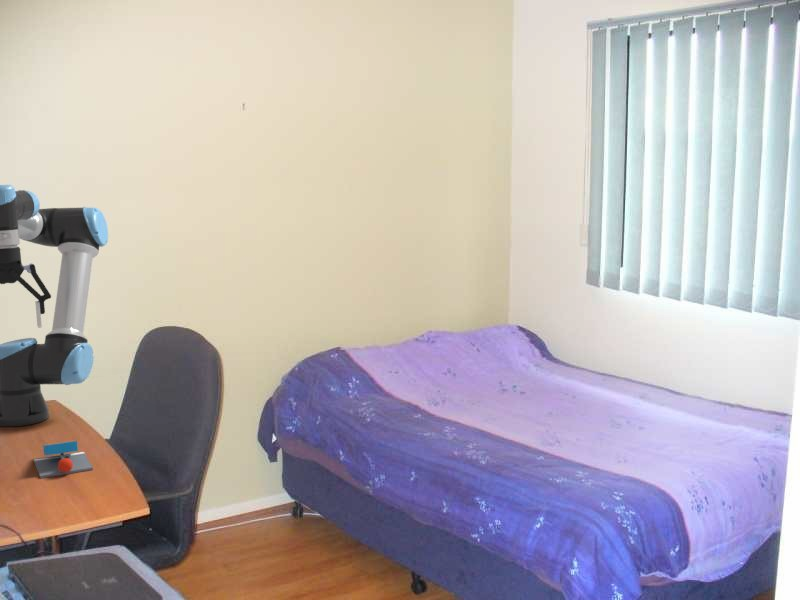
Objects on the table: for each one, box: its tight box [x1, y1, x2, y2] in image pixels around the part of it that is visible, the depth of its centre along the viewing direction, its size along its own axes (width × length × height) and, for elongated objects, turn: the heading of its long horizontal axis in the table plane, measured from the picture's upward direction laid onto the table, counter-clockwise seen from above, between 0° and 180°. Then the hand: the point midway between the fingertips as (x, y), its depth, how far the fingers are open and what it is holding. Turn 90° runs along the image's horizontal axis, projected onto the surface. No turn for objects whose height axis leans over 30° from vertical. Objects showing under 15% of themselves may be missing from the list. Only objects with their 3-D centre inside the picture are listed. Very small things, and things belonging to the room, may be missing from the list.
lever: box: [42, 440, 79, 472], centre depth 241 cm, size 7×7×18 cm
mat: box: [33, 451, 94, 479], centre depth 241 cm, size 14×12×1 cm
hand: (11, 329), depth 251 cm, fingers open, 13 cm apart
